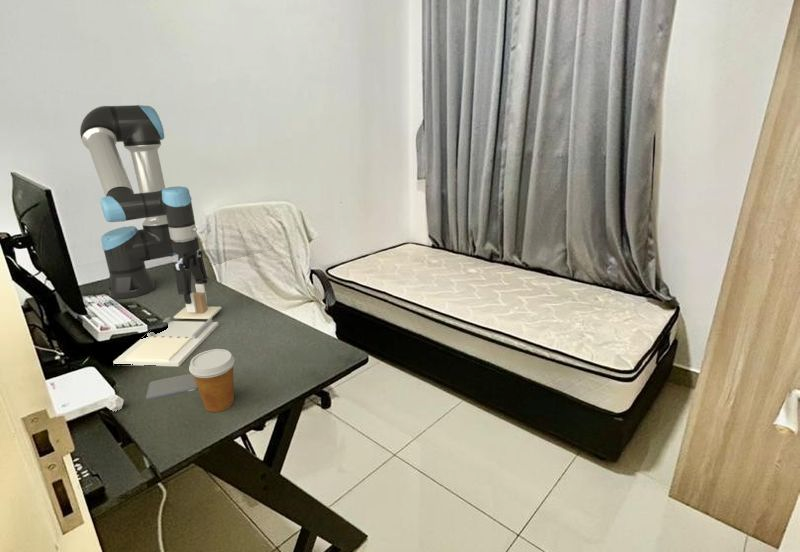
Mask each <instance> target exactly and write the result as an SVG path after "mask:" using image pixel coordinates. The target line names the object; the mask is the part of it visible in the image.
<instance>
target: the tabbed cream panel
mask: <svg viewBox="0 0 800 552" xmlns="http://www.w3.org/2000/svg"><path fill="white" fill-rule="evenodd" d="M191 293H193V295H194V300H195V305H196V311H197V312H196V313H193V312H187V309H186V306H185V307H183V308H182V309H181V310H179V312H178V313H176V314H175V315H173V319H179V320H180V319H189V320H191V319H192V320H208V319H209V318H212V319H213V317H215V315H216V314H218V312H220V310H221V309H222V306H211V305H210V306H208V301H207V302H206V297H207V295H206V296H205V293H198V292H196V291H195V292H193V291H191Z"/></svg>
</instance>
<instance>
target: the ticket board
mask: <svg viewBox="0 0 800 552" xmlns="http://www.w3.org/2000/svg"><path fill="white" fill-rule="evenodd" d="M162 321H163V322H167V323H168V328H167V329H166V330H164V331H162V332H160V333H157V334H155V333H154V332H150V331H149V332H150V333H149V332H147V333H146V334H147V336H148V337H146V338H143V337H142V338H143V339H141V338H140V339H139V340H137V341H136V342H135V343H134V344H132V345H131V346H130V347H129V348H127V349H126V350H125V351H124V352H123V353H122V354H121V355H119V356H118V357H117V358H115V359H114V360H113V361H112V362H113V365H114V364H131V365H130V366H144V365H156V366H155V367H181V364H182V363H184V362H185V360H186V359H187V358H188V357H190V355H191V354H193V352H194V351H195V350H196V349H197V348H198V347H199V346H200V345H201V344H202V343H203V342H204V341H206V339H207V338H208V337H209V336H210V335H211V333H213V331H214V330H216V328H217V327H218V326H219V325H220V324H219V321H213V317H212V318H209V319H206V321H182V320H181V321H180V320H176V321H175V320H171V317H166V318H165V319H164V320H162ZM132 364H133V365H132Z"/></svg>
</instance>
